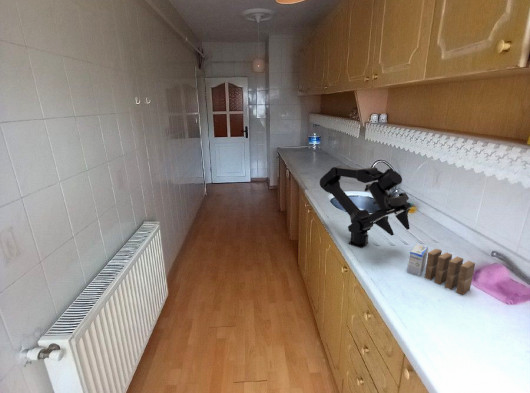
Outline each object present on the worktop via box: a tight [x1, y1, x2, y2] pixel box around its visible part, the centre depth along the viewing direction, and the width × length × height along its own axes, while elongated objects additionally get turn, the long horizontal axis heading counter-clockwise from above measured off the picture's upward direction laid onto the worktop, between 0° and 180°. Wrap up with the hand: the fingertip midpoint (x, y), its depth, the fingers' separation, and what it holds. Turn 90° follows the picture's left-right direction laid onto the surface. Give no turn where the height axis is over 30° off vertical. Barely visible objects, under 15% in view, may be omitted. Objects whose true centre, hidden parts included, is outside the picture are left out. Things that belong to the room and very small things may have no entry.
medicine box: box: [407, 243, 429, 277], centre depth 109 cm, size 8×4×9 cm, turn 141°
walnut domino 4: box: [455, 260, 476, 296], centre depth 96 cm, size 2×5×10 cm, turn 123°
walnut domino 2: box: [434, 252, 453, 286], centre depth 102 cm, size 2×5×10 cm, turn 123°
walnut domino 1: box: [424, 248, 443, 281], centre depth 104 cm, size 2×5×10 cm, turn 123°
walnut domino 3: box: [444, 256, 464, 291], centre depth 99 cm, size 2×5×10 cm, turn 123°
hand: (400, 232), depth 112 cm, fingers open, 9 cm apart
